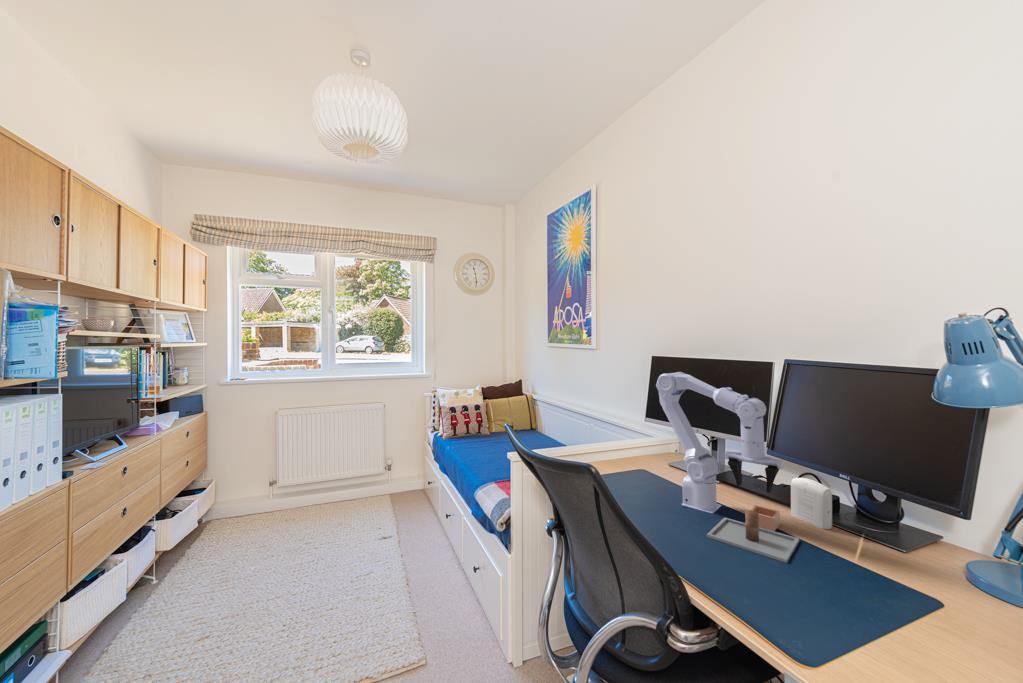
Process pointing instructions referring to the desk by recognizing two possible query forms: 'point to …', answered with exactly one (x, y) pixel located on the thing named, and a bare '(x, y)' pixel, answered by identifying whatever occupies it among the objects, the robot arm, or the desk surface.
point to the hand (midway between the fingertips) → (753, 488)
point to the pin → (752, 525)
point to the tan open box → (767, 517)
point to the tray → (767, 545)
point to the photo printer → (811, 502)
